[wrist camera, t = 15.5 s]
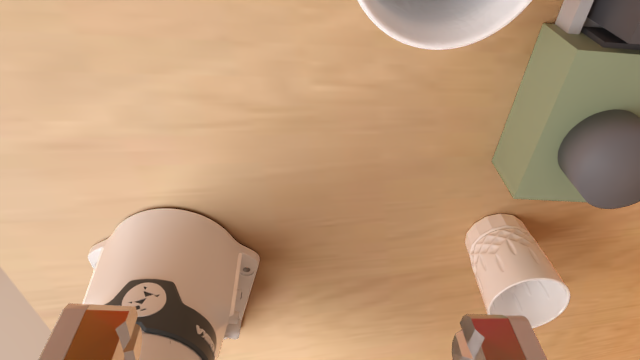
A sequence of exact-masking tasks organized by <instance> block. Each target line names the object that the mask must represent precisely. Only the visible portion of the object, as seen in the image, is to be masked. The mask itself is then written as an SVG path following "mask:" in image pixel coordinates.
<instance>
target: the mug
mask: <svg viewBox="0 0 640 360" xmlns="http://www.w3.org/2000/svg"><path fill="white" fill-rule="evenodd" d="M531 1H532V0H358V2H359V4H360V6H361V7H362V9H363V11H364V12H365V13H366V15H367V16H368V17H369V19H370V20H371V21H372V22H373V23H374V24H375V25H376V26H377V27H378V28H380V29H381V30H382V31H383V32H385V33H386V34H387V35H389V36H390V37H392V38H394V39H395V40H397V41H400V42H402V43H404V44H407V45H410V46H413V47H417V48H422V49H430V50H445V49H454V48H459V47H463V46H467V45H470V44H473V43H476V42H478V41H481V40H483V39H485V38H487V37H489V36H491V35H492V34H494V33H496V32H497V31H499V30H500V29H502V28H503V27H505V26H506V25H507V24H509V23H510V22H511V21H512V20H514V19H515V18H516V17H517V16H518V15H519V14H520V13H521V12H522V11H523V10H524V9H525V8H526V7H527V6H528V5H529V4H530V2H531Z"/></svg>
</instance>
